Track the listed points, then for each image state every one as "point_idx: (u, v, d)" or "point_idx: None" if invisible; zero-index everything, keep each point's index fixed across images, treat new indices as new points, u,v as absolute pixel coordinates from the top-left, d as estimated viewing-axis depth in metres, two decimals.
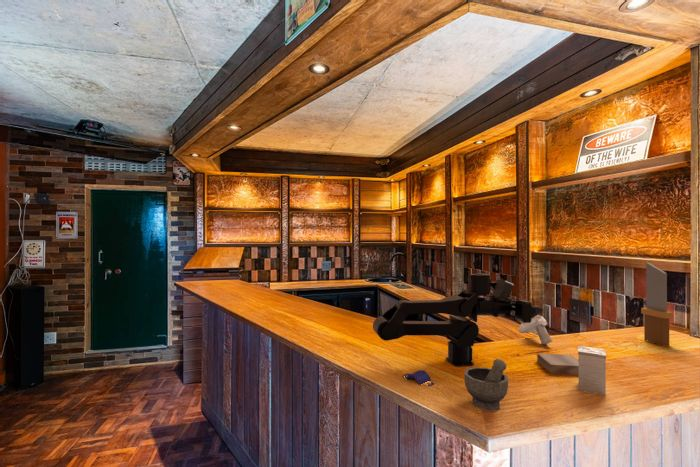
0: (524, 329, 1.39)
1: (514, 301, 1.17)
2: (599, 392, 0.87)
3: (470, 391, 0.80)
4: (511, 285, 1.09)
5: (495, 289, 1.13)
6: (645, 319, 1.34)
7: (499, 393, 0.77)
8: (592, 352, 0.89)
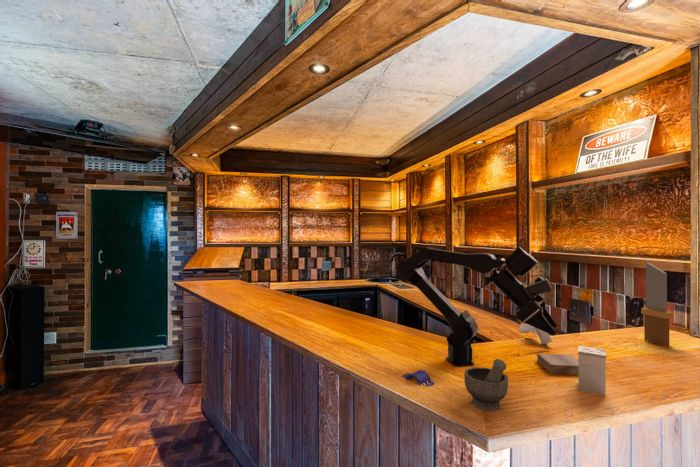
0: (524, 329, 1.39)
1: (549, 315, 1.00)
2: (599, 392, 0.87)
3: (470, 391, 0.80)
4: (547, 288, 0.94)
5: (534, 283, 0.99)
6: (645, 319, 1.34)
7: (499, 393, 0.77)
8: (592, 352, 0.89)
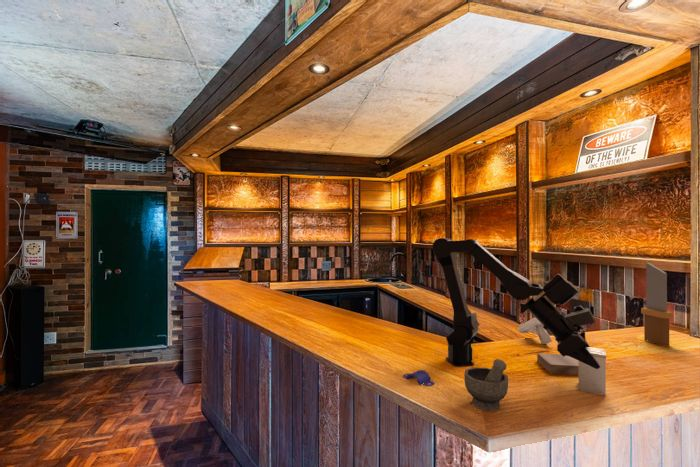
0: (524, 329, 1.40)
1: None
2: (599, 392, 0.87)
3: (470, 391, 0.80)
4: (590, 320, 0.88)
5: (574, 312, 0.94)
6: (645, 319, 1.34)
7: (499, 393, 0.77)
8: (592, 352, 0.89)
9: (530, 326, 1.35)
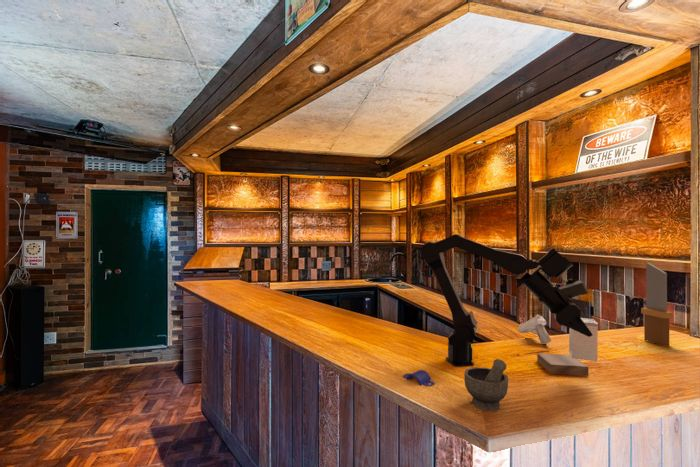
0: (524, 328, 1.40)
1: None
2: (591, 358, 0.92)
3: (470, 391, 0.80)
4: (584, 291, 0.93)
5: (566, 285, 0.98)
6: (645, 319, 1.34)
7: (499, 393, 0.77)
8: (585, 321, 0.93)
9: (530, 326, 1.35)
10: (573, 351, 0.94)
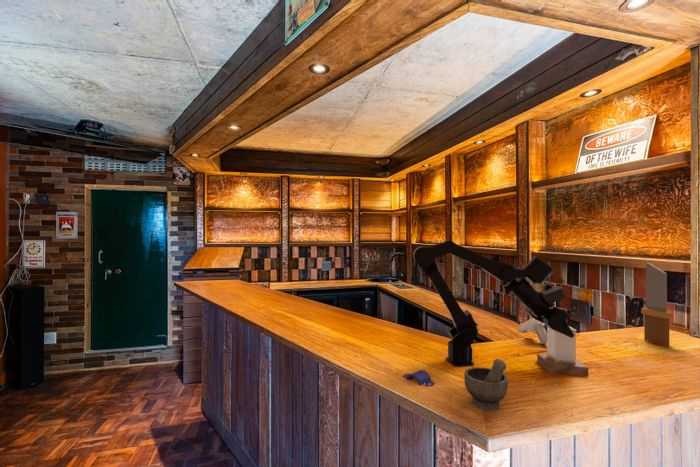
0: (523, 328, 1.40)
1: None
2: (571, 362, 1.02)
3: (470, 391, 0.80)
4: (564, 295, 1.03)
5: (546, 290, 1.07)
6: (645, 319, 1.34)
7: (499, 393, 0.77)
8: None
9: (529, 326, 1.35)
10: (556, 356, 1.02)
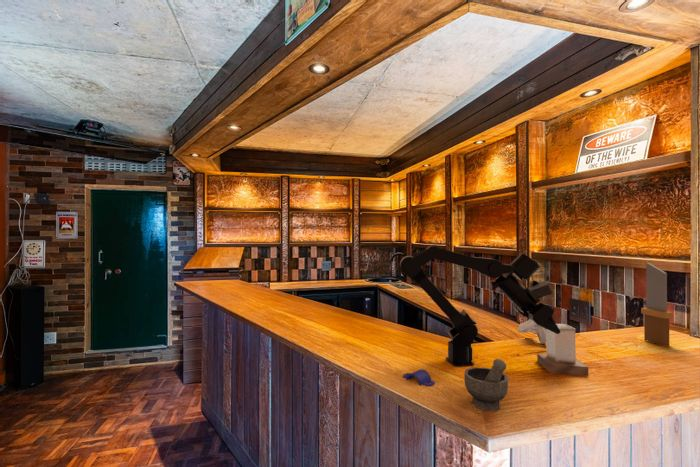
0: (523, 328, 1.40)
1: None
2: (571, 360, 1.02)
3: (470, 391, 0.80)
4: (550, 291, 1.03)
5: (533, 286, 1.07)
6: (645, 319, 1.34)
7: (499, 393, 0.77)
8: (564, 327, 1.03)
9: (529, 326, 1.35)
10: (556, 356, 1.02)
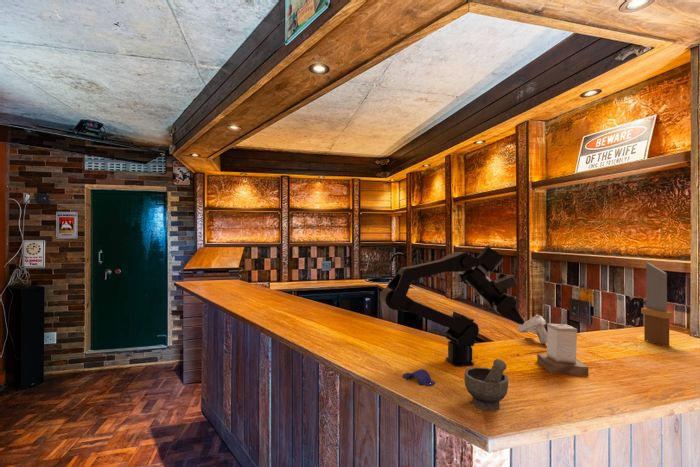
0: (523, 328, 1.40)
1: None
2: (571, 361, 1.02)
3: (470, 391, 0.80)
4: (515, 283, 1.06)
5: (499, 278, 1.10)
6: (645, 319, 1.34)
7: (499, 393, 0.77)
8: (565, 327, 1.03)
9: (529, 326, 1.35)
10: (557, 356, 1.02)
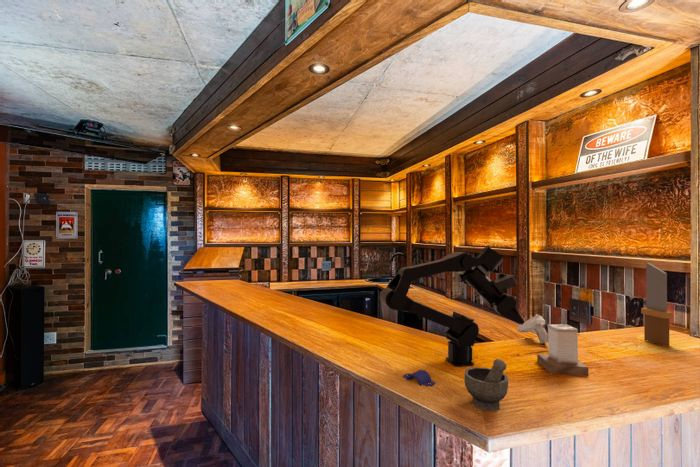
0: (523, 328, 1.40)
1: None
2: (573, 361, 1.01)
3: (470, 391, 0.80)
4: (515, 283, 1.06)
5: (499, 278, 1.10)
6: (645, 319, 1.34)
7: (499, 393, 0.77)
8: (566, 328, 1.03)
9: (529, 326, 1.36)
10: (559, 357, 1.02)
